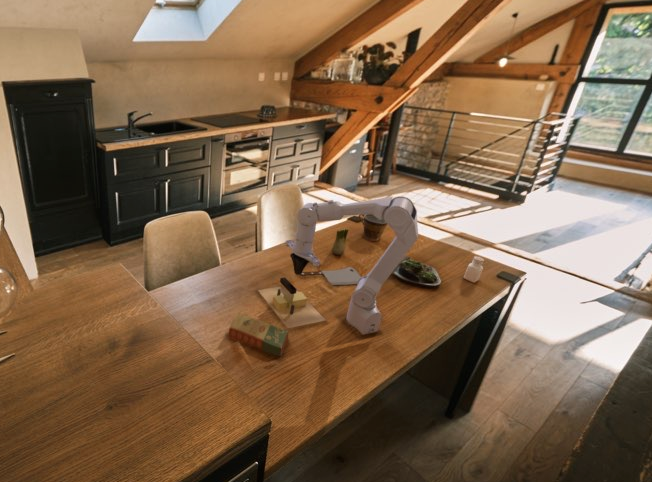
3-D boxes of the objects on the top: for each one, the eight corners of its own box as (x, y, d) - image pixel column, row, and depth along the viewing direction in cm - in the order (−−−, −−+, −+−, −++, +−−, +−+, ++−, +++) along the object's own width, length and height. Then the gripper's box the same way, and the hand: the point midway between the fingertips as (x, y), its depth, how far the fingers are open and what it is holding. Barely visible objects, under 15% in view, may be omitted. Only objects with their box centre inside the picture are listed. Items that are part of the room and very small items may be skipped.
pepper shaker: (467, 275, 151) (475, 254, 147) (478, 280, 148) (487, 259, 144) (462, 278, 149) (470, 257, 145) (474, 283, 146) (483, 262, 142)
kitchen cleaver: (306, 285, 140) (295, 268, 149) (306, 287, 141) (295, 270, 150) (368, 282, 144) (353, 266, 152) (367, 284, 144) (353, 268, 153)
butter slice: (286, 309, 127) (287, 302, 126) (278, 311, 127) (279, 303, 125) (279, 302, 131) (281, 294, 130) (272, 303, 130) (273, 296, 129)
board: (325, 322, 123) (328, 311, 122) (287, 330, 120) (289, 319, 118) (291, 286, 141) (293, 276, 139) (257, 292, 137) (258, 282, 135)
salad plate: (385, 255, 163) (387, 246, 161) (433, 265, 156) (436, 256, 155) (388, 280, 146) (391, 269, 145) (442, 292, 140) (446, 282, 138)
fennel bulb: (342, 251, 165) (347, 226, 160) (346, 257, 161) (352, 232, 156) (328, 250, 165) (333, 226, 161) (332, 256, 161) (337, 231, 156)
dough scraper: (294, 303, 125) (296, 289, 123) (289, 304, 125) (291, 290, 123) (282, 290, 131) (285, 277, 129) (278, 291, 131) (280, 277, 129)
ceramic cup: (387, 239, 176) (392, 220, 172) (374, 245, 171) (380, 225, 167) (362, 228, 186) (366, 209, 182) (349, 232, 181) (353, 213, 177)
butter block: (306, 305, 130) (307, 298, 128) (289, 308, 128) (290, 301, 127) (299, 298, 133) (300, 291, 132) (282, 301, 131) (284, 294, 130)
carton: (237, 322, 123) (238, 311, 121) (287, 341, 116) (289, 330, 114) (227, 338, 116) (229, 327, 114) (280, 359, 109) (282, 348, 107)
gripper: (330, 246, 121) (322, 282, 126) (298, 226, 133) (292, 260, 138) (312, 251, 118) (305, 287, 123) (282, 230, 130) (277, 264, 135)
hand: (297, 273), depth 131 cm, fingers closed
